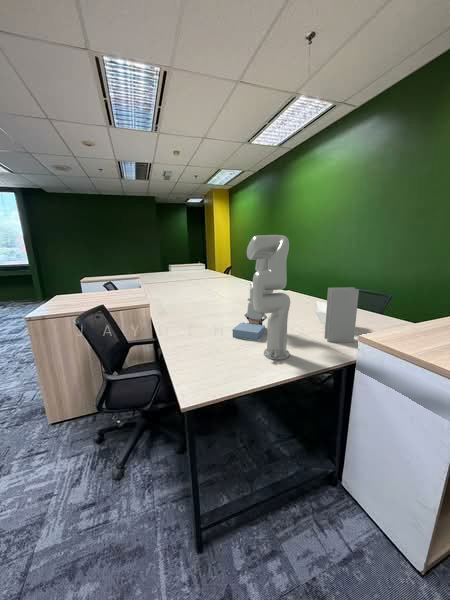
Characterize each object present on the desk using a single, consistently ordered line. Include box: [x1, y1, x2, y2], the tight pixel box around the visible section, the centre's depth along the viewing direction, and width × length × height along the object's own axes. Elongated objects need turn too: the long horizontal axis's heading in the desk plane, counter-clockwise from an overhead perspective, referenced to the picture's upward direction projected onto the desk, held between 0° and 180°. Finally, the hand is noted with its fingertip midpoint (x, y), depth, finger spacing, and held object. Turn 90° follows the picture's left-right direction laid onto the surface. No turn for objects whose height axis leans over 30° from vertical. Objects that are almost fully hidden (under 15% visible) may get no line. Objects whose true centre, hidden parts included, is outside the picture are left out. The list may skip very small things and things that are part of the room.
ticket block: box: [232, 322, 266, 342], centre depth 148 cm, size 15×16×5 cm
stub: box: [248, 318, 260, 325], centre depth 159 cm, size 9×6×6 cm, turn 154°
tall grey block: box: [323, 287, 360, 343], centre depth 135 cm, size 14×6×30 cm, turn 84°
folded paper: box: [314, 300, 327, 325], centre depth 160 cm, size 17×24×17 cm
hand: (255, 327), depth 159 cm, fingers closed on stub, 6 cm apart
